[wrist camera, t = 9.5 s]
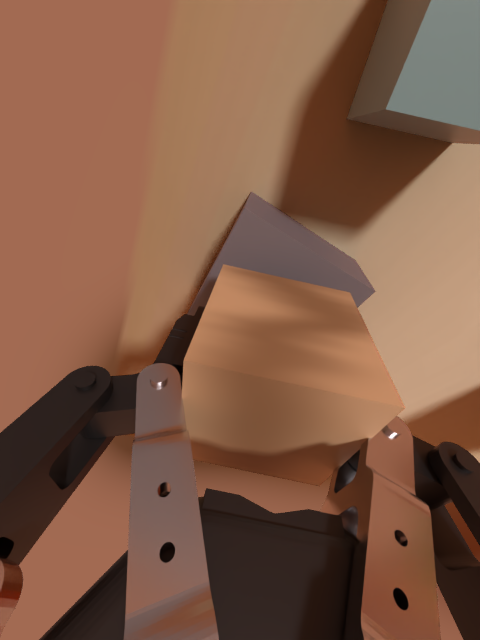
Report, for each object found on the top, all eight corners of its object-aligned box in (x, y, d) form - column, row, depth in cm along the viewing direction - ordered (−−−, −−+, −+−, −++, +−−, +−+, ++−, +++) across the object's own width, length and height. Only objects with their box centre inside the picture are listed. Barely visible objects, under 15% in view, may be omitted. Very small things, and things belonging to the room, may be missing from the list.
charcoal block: (354, 258, 15) (375, 291, 12) (283, 333, 19) (285, 372, 16) (251, 190, 13) (244, 207, 10) (199, 289, 18) (182, 322, 15)
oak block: (350, 292, 10) (405, 407, 6) (305, 374, 14) (319, 485, 9) (223, 264, 10) (183, 360, 6) (209, 353, 13) (178, 456, 9)
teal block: (558, -41, 8) (833, -213, 4) (451, 143, 11) (548, 146, 7) (413, -76, 8) (549, -283, 4) (346, 118, 11) (385, 109, 7)
